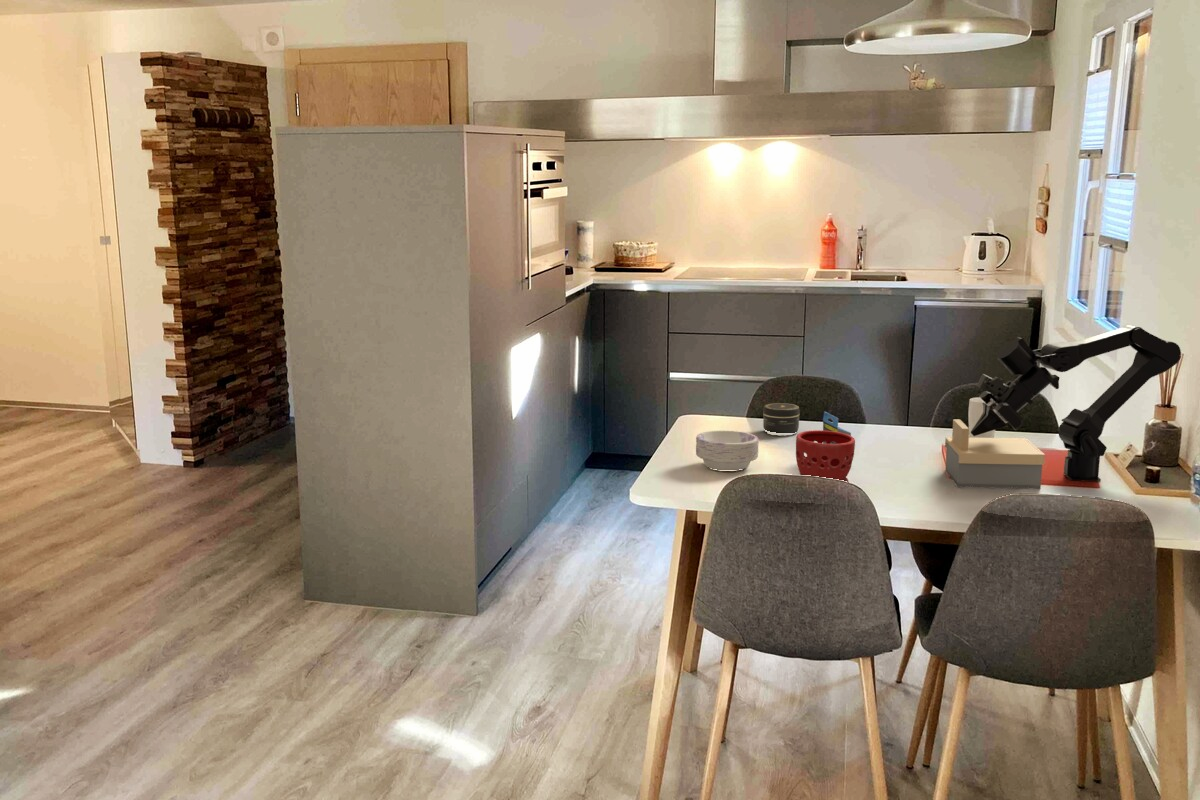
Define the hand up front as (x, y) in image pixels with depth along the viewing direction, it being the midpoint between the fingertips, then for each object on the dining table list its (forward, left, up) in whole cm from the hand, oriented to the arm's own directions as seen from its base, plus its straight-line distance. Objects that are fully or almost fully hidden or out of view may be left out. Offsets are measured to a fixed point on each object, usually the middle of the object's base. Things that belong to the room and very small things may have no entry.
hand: (972, 434), depth 243 cm
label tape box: (+29, -14, -11) cm, 34 cm away
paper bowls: (+56, -7, -11) cm, 58 cm away
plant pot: (+34, +9, -11) cm, 37 cm away
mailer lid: (-5, 0, -5) cm, 7 cm away
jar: (+41, -46, -11) cm, 63 cm away
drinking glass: (-7, -20, -11) cm, 24 cm away
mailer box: (-5, 0, -11) cm, 12 cm away
